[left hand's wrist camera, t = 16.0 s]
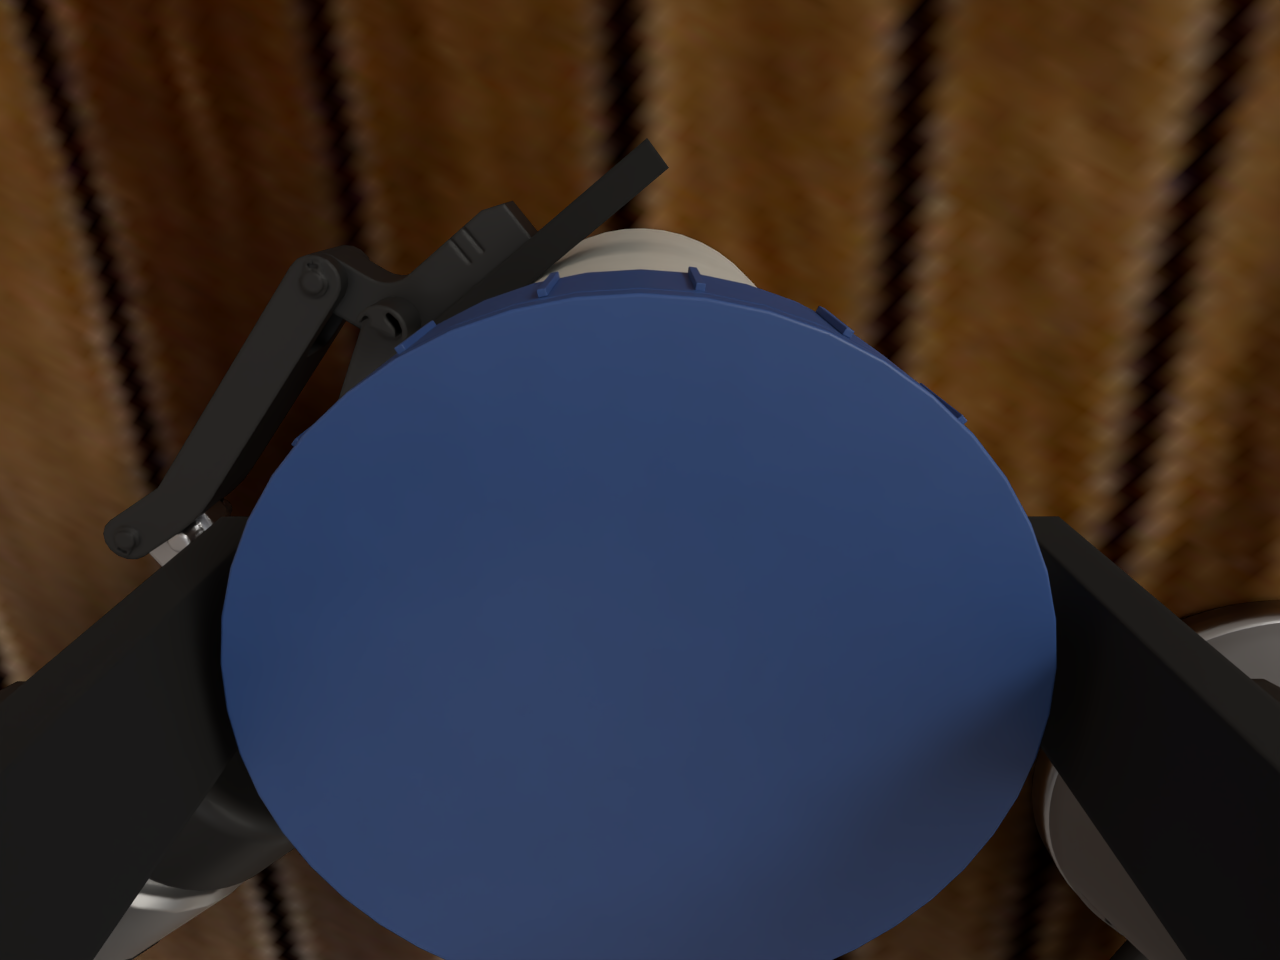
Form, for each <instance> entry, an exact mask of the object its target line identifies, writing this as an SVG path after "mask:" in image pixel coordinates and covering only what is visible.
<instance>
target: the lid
mask: <svg viewBox="0 0 1280 960" xmlns="http://www.w3.org/2000/svg"><path fill="white" fill-rule="evenodd" d="M853 333H854V331H853V330H852V329H850V328H849V327H848V326H847V325H845V324H844V323H843V322H841V321H840V320H839V319H838V318H836V317H835V316H834V315H833V314H831V313H830V312H829V311H827V310H826V309H824V308H823V307H821V306H819V307H818V309H817V310H816V312H815V311H813V310H811V309H809V308H807V307H805V306H803V305H801V304H800V303H798V302H795V301H793V300H790V299H787V298H784V297H782V296H779V295H776V294H773V293H770V292H768V291H765V290H762V289H759V288H756V287H754V286H751V285H748V284H744V283H739V282H734V281H730V280H725V279H720V278H715V277H711V276H706V275H701V274H700V273H699V271H698V269H697V268H696V267H689V268H688V273H686V272H672V271H659V270H645V269H636V270H620V271H604V272H588V273H582V274H577V275H572V276H567V277H562V278H560V276H559V272H558V271H557V272H553V273H550V274H549V275H548V277H547V278H546V279H545V280H544V281H542V282H537V283H533V284H530V285H527V286H524V287H521V288H519V289H516V290H513V291H510V292H507V293H504V294H501V295H498V296H495V297H493V298H490V299H487V300H484V301H482V302H480V303H478V304H476V305H474V306H472V307H470V308H468V309H467V310H465V311H463V312H461V313H459V314H457V315H455V316H453V317H451V318H449V319H447V320H445V321H443V322H441V323H439V324H438V325H436V324H435V322H434V321H433V320H432V321H430V322H429V323H427V324H426V325H424V326H423V327H422V328H420V329H419V330H418V331H416V332H415V333H414V334H412V335H411V336H410V337H408V338H407V339H406V340H404V341H403V342H402V343H400V344H399V345H398V346H396V347H395V348H394V349H395V351H396V352H397V354H395V355H394V356H393V357H391V358H390V359H389V360H388V361H386V362H385V363H384V364H382V365H381V366H380V367H379V368H377V369H376V370H375V371H373V372H372V373H371V374H370V375H368V376H367V377H366V378H364V379H363V380H362V381H361V382H359V383H358V384H357V385H355V386H354V387H353V388H352V389H350V390H349V391H348V392H347V393H346V394H344V395H343V396H342V397H341V398H340V399H339V400H338V401H337V402H336V403H335V404H334V405H333V406H332V407H331V408H330V409H329V410H328V411H327V412H326V413H324V414H323V415H322V416H321V417H320V418H319V419H318V420H317V421H316V422H315V423H314V424H313V425H312V426H310V427H309V428H308V429H307V430H305V431H304V432H303V433H302V434H300V435H299V436H298V437H297V438H295V440H294V441H293V442H292V444H291V445H292V446H294V447H293V448H292V450H291V451H290V452H289V454H288V455H287V456H286V458H285V459H284V460H283V461H282V463H281V464H280V465H279V467H278V468H277V469H276V470H275V472H274V473H273V474H272V476H271V478H270V480H269V482H268V483H267V485H266V487H265V489H264V491H263V493H262V494H261V496H260V498H259V500H258V502H257V504H256V505H255V507H254V509H253V511H252V513H251V514H250V516H249V518H248V520H247V522H246V525H245V528H244V531H243V534H242V537H241V539H240V542H239V545H238V548H237V551H236V553H235V556H234V559H233V562H232V565H231V568H230V573H229V578H228V584H227V589H226V595H225V600H224V606H223V611H222V619H221V671H222V679H223V686H224V693H225V701H226V708H227V712H228V716H229V719H230V723H231V726H232V729H233V733H234V736H235V740H236V743H237V746H238V750H239V753H240V756H241V758H242V760H243V762H244V764H245V766H246V769H247V771H248V773H249V775H250V777H251V780H252V782H253V784H254V786H255V788H256V790H257V793H258V795H259V796H260V798H261V799H262V801H263V803H264V804H265V806H266V807H267V809H268V811H269V812H270V814H271V815H272V817H273V818H274V820H275V822H276V823H277V825H278V826H279V828H280V829H281V831H282V833H283V834H284V835H285V836H286V837H287V839H288V840H289V841H290V842H291V843H292V845H293V846H294V847H295V848H296V849H297V851H298V852H299V853H300V854H301V855H302V857H303V858H304V859H305V860H306V861H307V863H308V864H309V865H310V866H311V867H312V868H313V869H314V870H315V871H316V872H317V873H318V874H319V875H320V876H321V877H322V878H323V879H325V880H326V881H327V882H328V883H329V884H330V885H331V886H332V887H333V888H334V889H335V890H336V891H337V892H338V893H339V894H340V895H341V896H343V897H344V898H345V899H346V900H348V901H349V902H350V903H352V904H353V905H354V906H356V907H357V908H358V909H360V910H361V911H362V912H364V913H365V914H366V915H368V916H369V917H370V918H372V919H373V920H374V921H376V922H377V923H378V924H380V925H381V926H383V927H385V928H387V929H388V930H390V931H392V932H393V933H395V934H397V935H398V936H400V937H402V938H403V939H405V940H407V941H409V942H410V943H412V944H414V945H415V946H417V947H419V948H421V949H423V950H425V951H427V952H430V953H432V954H434V955H436V956H438V957H441V958H443V959H445V960H833V959H835V958H837V957H839V956H842V955H844V954H846V953H848V952H850V951H853V950H855V949H857V948H859V947H860V946H862V945H864V944H865V943H867V942H869V941H871V940H872V939H874V938H876V937H878V936H879V935H881V934H883V933H884V932H886V931H888V930H890V929H891V928H893V927H895V926H896V925H898V924H899V923H900V922H902V921H903V920H904V919H906V918H907V917H908V916H910V915H911V914H913V913H914V912H915V911H917V910H918V909H919V908H921V907H922V906H923V905H925V904H926V903H927V902H929V901H930V900H932V899H933V898H934V897H935V896H936V895H937V894H938V893H939V892H940V891H941V890H942V889H943V888H944V887H946V886H947V885H948V884H949V883H950V882H951V881H952V880H953V879H954V878H955V877H956V876H957V875H958V874H960V873H961V872H962V871H963V870H964V869H965V868H966V866H967V865H968V864H969V863H970V862H971V861H972V859H973V858H974V857H975V856H976V855H977V853H978V852H979V851H980V850H981V849H982V848H983V846H984V845H985V844H986V843H987V842H988V840H989V839H990V838H991V837H992V836H993V834H994V833H995V831H996V830H997V828H998V827H999V825H1000V824H1001V822H1002V821H1003V819H1004V817H1005V816H1006V814H1007V813H1008V811H1009V810H1010V808H1011V807H1012V805H1013V804H1014V802H1015V800H1016V799H1017V797H1018V795H1019V793H1020V791H1021V789H1022V787H1023V785H1024V782H1025V780H1026V778H1027V776H1028V774H1029V772H1030V770H1031V768H1032V765H1033V763H1034V761H1035V759H1036V757H1037V754H1038V750H1039V747H1040V744H1041V741H1042V737H1043V734H1044V731H1045V727H1046V724H1047V721H1048V718H1049V714H1050V709H1051V702H1052V695H1053V688H1054V681H1055V674H1056V617H1055V611H1054V605H1053V600H1052V594H1051V588H1050V582H1049V576H1048V571H1047V568H1046V565H1045V562H1044V559H1043V556H1042V553H1041V551H1040V548H1039V545H1038V542H1037V539H1036V536H1035V533H1034V530H1033V527H1032V524H1031V522H1030V520H1029V519H1028V517H1027V515H1026V513H1025V511H1024V509H1023V507H1022V505H1021V504H1020V502H1019V500H1018V498H1017V496H1016V494H1015V492H1014V490H1013V489H1012V487H1011V485H1010V483H1009V481H1008V479H1007V478H1006V476H1005V475H1004V474H1003V472H1002V471H1001V470H1000V468H999V467H998V466H997V464H996V463H995V462H994V460H993V459H992V458H991V456H990V455H989V454H988V452H987V451H986V450H985V448H984V447H983V446H982V444H981V443H980V442H979V440H978V439H977V438H976V437H975V435H974V434H973V433H972V432H971V431H970V430H969V429H968V428H967V427H966V426H965V425H964V423H966V422H967V420H966V419H965V418H964V416H963V415H962V414H960V413H959V412H958V411H956V410H955V409H954V408H953V407H951V406H950V405H949V404H947V403H946V402H945V401H944V400H942V399H941V398H940V397H938V396H937V395H936V394H935V393H933V392H932V391H931V390H929V389H928V388H927V387H926V386H924V385H923V384H922V383H920V384H919V383H918V382H916V381H915V380H914V379H912V378H911V377H910V376H909V375H907V374H906V373H905V372H904V371H902V370H901V369H900V368H898V367H897V366H896V365H895V364H893V363H892V362H891V361H890V360H888V359H887V358H886V357H884V356H883V355H882V354H881V353H879V352H878V351H876V350H875V349H874V348H872V347H871V346H869V345H868V344H867V343H865V342H864V341H862V340H861V339H860V338H858V337H857V336H856V335H854V334H853Z"/></svg>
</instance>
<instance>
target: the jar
mask: <svg viewBox="0 0 1280 960" xmlns="http://www.w3.org/2000/svg"><path fill="white" fill-rule="evenodd" d="M689 267H696V268H697V269H698V271H699V273H700V274H701V275H706V276H711V277H715V278H720V279H725V280H730V281H734V282H739V283H744V284H748V285H751V286H754V287H756V286H755V285H754V284H753V283H752V282H751V281H750V280H749V279H748V278H747V277H746V276H745V275H744V274H743V273H742V272H741V271H740V270H739V269H738V268H737V267H736V266H735V265H734V264H733V263H732V262H731V261H729V260H728V259H727V258H725V257H724V256H723V255H721V254H720V253H719V252H717V251H716V250H714V249H712V248H710V247H709V246H707V245H705V244H703V243H701V242H699V241H696V240H694V239H691V238H689V237H686V236H684V235H680V234H676V233H672V232H668V231H664V230H654V229H623V230H617V231H611V232H605V233H602V234H599V235H596V236H593V237H590V238H587V239H584V240H582V241H581V242H580V243H579V244H577V245H576V246H575V247H574V248H573V249H571V250H570V251H569V252H568V253H567V254H565V255H564V256H563V257H562V258H561V259H560V260H558V261H557V262H556V263H555V264H554V265H552V266H551V267H550V268H549V269H548V270H546V271H545V272H544V273H543V274H542V275H540V276H539V277H538V278H537V279H536V280H535V281H533V282H532V283H531V284H533V283H537V282H542V281H544V280H545V279H546V278H547V277H548V275H549V274H550V273H553V272H557V271H558V272H559V276H560V278H562V277H567V276H572V275H577V274H582V273H588V272H604V271H620V270H636V269H645V270H659V271H672V272H686V273H688V268H689ZM756 288H757V287H756Z"/></svg>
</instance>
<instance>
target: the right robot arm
mask: <svg viewBox="0 0 1280 960" xmlns="http://www.w3.org/2000/svg"><path fill="white" fill-rule="evenodd" d="M668 168H669V167H668V166H667V165H666V163H665V162H664V161H663V159H662V158H661V156H660V155H659V154H658V152H657V151H656V150H655V148H654V147H653V146H652V144H651V143H650V141H649V140H648V139H646V140H644V141H643V142H642V143H641V144H640V145H639V146H637V147H636V148H635V149H634V150H633V151H632V152H630V153H629V154H628V155H627V156H626V157H625V158H623V159H622V160H621V161H620V162H619V163H618V164H616V165H615V166H614V167H613V168H612V169H611V170H609V171H608V172H607V173H606V174H605V175H604V176H602V177H601V178H600V179H599V180H598V181H597V182H595V183H594V184H593V185H592V186H591V187H590V188H588V189H587V190H586V191H585V192H584V193H583V194H581V195H580V196H579V197H578V198H577V199H576V200H574V201H573V202H572V203H571V204H570V205H569V206H567V207H566V208H565V209H564V210H563V211H562V212H560V213H559V214H558V215H557V216H556V217H555V218H553V219H552V220H551V221H550V222H549V223H548V224H546V225H545V226H544V227H543V228H542V229H541V230H539V231H537V230H536V229H535V228H534V227H533V225H532V224H531V223H530V222H529V220H528V219H527V218H526V217H525V215H524V214H523V213H522V212H521V210H520V209H519V208H518V207H517V205H516V204H515V203H514V202H513V201H511V202H507V203H504V204H501V205H497V206H494V207H491V208H488V209H485V210H482V211H481V212H479V213H478V214H477V215H476V216H475V217H474V218H473V219H472V220H470V221H469V222H468V223H467V224H466V225H465V226H464V227H463V228H461V229H460V230H459V231H458V232H457V233H456V234H455V235H453V236H452V237H451V238H450V239H449V240H448V241H447V242H445V243H444V244H443V245H442V246H441V247H440V248H439V249H438V250H436V251H435V252H434V253H433V254H432V255H431V256H430V257H428V258H427V259H426V260H425V261H424V262H423V263H422V264H421V265H419V266H418V267H417V268H416V269H415V270H414V271H413V272H412V273H410V274H409V275H397V274H393V273H391V272H389V271H387V270H385V269H383V268H381V267H380V266H378V265H376V264H375V263H373V262H371V261H370V260H369V258H368V256H367V255H366V254H365V253H364V252H363V251H362V250H360V249H358V248H356V247H354V246H349V245H342V246H338V247H335V248H330V249H327V250H323V251H319V252H316V253H312V254H309V255H306V256H303V257H300V258H298V259H297V260H296V261H295V262H294V263H293V264H292V265H291V266H290V268H289V270H288V271H287V273H286V275H285V276H284V278H283V280H282V281H281V283H280V285H279V286H278V288H277V290H276V291H275V293H274V295H273V296H272V298H271V300H270V302H269V303H268V305H267V307H266V308H265V310H264V312H263V313H262V315H261V317H260V318H259V320H258V322H257V323H256V325H255V327H254V328H253V330H252V332H251V333H250V335H249V337H248V338H247V340H246V342H245V343H244V345H243V347H242V348H241V350H240V352H239V353H238V355H237V357H236V358H235V360H234V362H233V363H232V365H231V367H230V368H229V370H228V372H227V373H226V375H225V377H224V378H223V380H222V382H221V383H220V385H219V387H218V388H217V390H216V392H215V393H214V395H213V397H212V398H211V400H210V402H209V403H208V405H207V407H206V408H205V410H204V412H203V413H202V415H201V417H200V418H199V420H198V422H197V424H196V425H195V427H194V429H193V430H192V432H191V434H190V435H189V437H188V439H187V440H186V442H185V444H184V445H183V447H182V449H181V450H180V452H179V454H178V455H177V457H176V459H175V460H174V462H173V464H172V465H171V467H170V469H169V470H168V472H167V474H166V475H165V477H164V479H163V480H162V482H161V484H160V485H159V487H158V488H157V489H156V490H154V491H153V492H151V493H150V494H148V495H147V496H145V497H144V498H142V499H141V500H139V501H138V502H137V503H135V504H134V505H132V506H131V507H129V508H128V509H126V510H125V511H123V512H122V513H120V514H119V515H118V516H116V517H115V518H113V519H112V520H110V521H109V522H108V524H107V525H106V526H105V529H104V533H103V534H104V539H105V542H106V544H107V545H108V547H109V548H110V550H112V551H113V552H114V553H116V554H117V555H118V556H121V557H124V558H126V559H138V558H141V557H143V556H145V555H147V554H148V553H150V554H151V556H152V557H153V558H154V559H155V560H156V561H157V562H158V563H159V564H160V565H161V566H163V565H165V564H166V563H167V562H168V561H169V560H171V559H172V558H173V557H174V556H175V555H177V554H178V553H179V552H180V551H181V550H182V549H184V548H185V547H186V546H187V545H188V544H190V543H191V542H192V541H193V540H194V539H196V538H197V537H198V536H199V535H200V534H201V533H203V532H204V531H205V530H206V529H207V528H209V527H210V526H211V525H212V524H213V523H215V522H216V521H217V520H218V519H219V518H220V517H231V515H230V514H231V512H232V506H231V504H230V502H229V501H227V500H226V499H224V497H225V496H226V495H228V494H229V493H230V492H231V491H232V490H234V489H235V488H236V487H237V486H238V485H239V484H240V483H241V482H242V481H243V480H244V478H245V477H246V476H247V474H248V473H249V472H250V470H251V469H252V468H253V466H254V464H255V463H256V461H257V460H258V458H259V457H260V455H261V453H262V452H263V450H264V449H265V447H266V446H267V444H268V443H269V441H270V439H271V438H272V436H273V435H274V433H275V432H276V430H277V428H278V427H279V425H280V424H281V422H282V421H283V419H284V417H285V416H286V414H287V413H288V411H289V410H290V408H291V406H292V405H293V403H294V402H295V400H296V399H297V397H298V395H299V394H300V392H301V391H302V389H303V388H304V386H305V384H306V383H307V381H308V380H309V378H310V377H311V375H312V373H313V372H314V370H315V369H316V367H317V366H318V364H319V362H320V361H321V359H322V358H323V356H324V355H325V353H326V352H327V350H328V348H329V347H330V345H331V344H332V342H333V341H334V339H335V337H336V336H337V334H338V333H339V331H340V330H341V328H342V326H343V325H344V323H345V322H346V321H348V322H350V323H351V324H353V325H355V326H357V327H358V328H360V329H361V330H360V333H359V336H358V340H357V343H356V346H355V349H354V352H353V355H352V358H351V362H350V365H349V368H348V371H347V374H346V377H345V380H344V384H343V387H342V390H341V393H340V396H339V399H340V398H341V397H342V396H343V395H344V394H346V393H347V392H348V391H349V390H350V389H352V388H353V387H354V386H355V385H357V384H358V383H359V382H361V381H362V380H363V379H364V378H366V377H367V376H368V375H370V374H371V373H372V372H373V371H375V370H376V369H377V368H379V367H380V366H381V365H382V364H384V363H385V362H386V361H388V360H389V359H390V358H391V357H393V356H394V355H395V354H397V352H396V351H395V349H394V348H395V347H396V346H398V345H399V344H400V343H402V342H403V341H404V340H406V339H407V338H408V337H410V336H411V335H412V334H414V333H415V332H416V331H418V330H419V329H420V328H422V327H423V326H424V325H426V324H427V323H429V322H430V321H432V320H433V321H434V322H435V324H436V325H438V324H439V323H441V322H443V321H445V320H447V319H449V318H451V317H453V316H455V315H457V314H459V313H461V312H463V311H465V310H467V309H468V308H470V307H472V306H474V305H476V304H478V303H480V302H482V301H484V300H487V299H490V298H493V297H495V296H498V295H501V294H504V293H507V292H510V291H513V290H516V289H519V288H521V287H524V286H527V285H530V284H531V283H532V282H533V281H535V280H536V279H537V278H538V277H539V276H540V275H542V274H543V273H544V272H545V271H546V270H548V269H549V268H550V267H551V266H552V265H554V264H555V263H556V262H557V261H558V260H560V259H561V258H562V257H563V256H564V255H565V254H567V253H568V252H569V251H570V250H571V249H573V248H574V247H575V246H576V245H577V244H579V243H580V242H581V241H582V240H583V239H584V238H586V237H587V236H588V235H589V234H590V233H592V232H593V231H594V230H595V229H596V228H598V227H599V226H600V225H601V224H602V223H604V222H605V221H606V220H607V219H608V218H609V217H611V216H612V215H613V214H614V213H615V212H617V211H618V210H619V209H620V208H621V207H623V206H624V205H625V204H626V203H627V202H628V201H630V200H631V199H632V198H633V197H634V196H636V195H637V194H638V193H639V192H640V191H642V190H643V189H644V188H645V187H646V186H648V185H649V184H650V183H651V182H652V181H653V180H655V179H656V178H657V177H658V176H659V175H661V174H662V173H663V172H664V171H665V170H667V169H668ZM339 399H338V400H339ZM294 848H295V847H294V846H293V845H292V843H291V842H290V841H289V840H288V839H287V837H286V836H285V835H284V834H283V833H282V831H281V829H280V828H279V826H278V825H277V823H276V822H275V820H274V818H273V817H272V815H271V814H270V812H269V811H268V809H267V807H266V806H265V804H264V803H263V801H262V799H261V798H260V796H259V795H258V793H257V790H256V788H255V786H254V784H253V782H252V780H251V777H250V775H249V773H248V771H247V769H246V766H245V764H244V762H243V760H242V758H241V756H240V753H239V750H237V751H236V753H235V754H234V756H233V757H232V759H231V760H230V762H229V763H228V764H227V766H226V767H225V769H224V770H223V772H222V773H221V775H220V776H219V778H218V779H217V780H216V782H215V783H214V785H213V786H212V788H211V789H210V791H209V792H208V794H207V795H206V796H205V798H204V799H203V801H202V802H201V804H200V805H199V807H198V808H197V810H196V811H195V812H194V814H193V815H192V817H191V818H190V820H189V821H188V823H187V824H186V826H185V827H184V828H183V830H182V831H181V833H180V834H179V836H178V837H177V839H176V840H175V842H174V843H173V844H172V846H171V847H170V849H169V850H168V852H167V853H166V855H165V856H164V858H163V859H162V861H161V862H160V863H159V865H158V866H157V868H156V869H155V871H154V872H153V874H152V875H151V877H150V878H149V879H148V881H147V882H146V884H145V885H144V887H143V888H142V890H141V891H140V893H139V894H138V895H137V897H136V898H135V900H134V901H133V903H132V904H131V906H130V907H129V909H128V910H127V911H126V913H125V914H124V916H123V917H122V919H121V920H120V922H119V923H118V925H117V926H116V927H115V929H114V930H113V932H112V933H111V935H110V936H109V938H108V939H107V941H106V942H105V943H104V945H103V946H102V948H101V949H100V951H99V952H98V954H97V955H96V957H95V958H94V959H93V960H133V959H134V958H135V957H137V956H138V955H140V954H141V953H143V952H144V951H146V950H147V949H149V948H150V947H152V946H153V945H155V944H156V943H158V942H159V941H160V940H161V939H162V938H164V937H165V936H167V935H168V934H170V933H171V932H173V931H174V930H176V929H177V928H179V927H180V926H182V925H183V924H185V923H187V922H188V921H190V920H191V919H193V918H194V917H196V916H197V915H199V914H200V913H202V912H203V911H205V910H206V909H208V908H210V907H211V906H213V905H214V904H216V903H217V902H219V901H220V900H222V899H223V898H225V897H226V896H228V895H229V894H231V893H232V892H233V891H234V890H235V889H236V888H238V887H239V886H240V885H241V884H242V883H243V882H244V881H246V880H248V879H250V878H252V877H253V876H255V875H256V874H258V873H259V872H261V871H262V870H264V869H265V868H266V867H268V866H269V865H271V864H272V863H274V862H275V861H277V860H278V859H279V858H281V857H282V856H284V855H285V854H287V853H288V852H290V851H291V850H292V849H294Z"/></svg>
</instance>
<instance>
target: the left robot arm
mask: <svg viewBox="0 0 1280 960" xmlns="http://www.w3.org/2000/svg"><path fill="white" fill-rule="evenodd" d="M248 518H249V517H220V518H219V519H218V520H217V521H216V522H215V523H213V524H212V525H211V526H210V527H209V528H207V529H206V530H205V531H204V532H203V533H201V534H200V535H199V536H198V537H197V538H196V539H194V540H193V541H192V542H191V543H190V544H188V545H187V546H186V547H185V548H184V549H182V550H181V551H180V552H179V553H178V554H177V555H175V556H174V557H173V558H172V559H171V560H169V561H168V562H167V563H166V564H165V565H163V566H162V567H161V568H160V569H159V570H158V571H156V572H155V573H154V574H153V575H152V576H150V577H149V578H148V579H147V580H146V581H144V582H143V583H142V584H141V585H140V586H139V587H137V588H136V589H135V590H134V591H133V592H131V593H130V594H129V595H128V596H127V597H126V598H124V599H123V600H122V601H121V602H120V603H118V604H117V605H116V606H115V607H114V608H112V609H111V610H110V611H109V612H108V613H107V614H105V615H104V616H103V617H102V618H101V619H99V620H98V621H97V622H96V623H95V624H93V625H92V626H91V627H90V628H89V629H88V630H86V631H85V632H84V633H83V634H82V635H80V636H79V637H78V638H77V639H76V640H74V641H73V642H72V643H71V644H70V645H69V646H67V647H66V648H65V649H64V650H63V651H61V652H60V653H59V654H58V655H57V656H55V657H54V658H53V659H52V660H51V661H50V662H48V663H47V664H46V665H45V666H44V667H42V668H41V669H40V670H39V671H38V672H36V673H35V674H34V675H33V676H32V677H31V678H29V679H28V680H27V681H17V682H15V683H13V684H11V685H10V686H8V687H6V688H4V689H2V690H0V960H93V959H94V958H95V957H96V955H97V954H98V952H99V951H100V949H101V948H102V946H103V945H104V943H105V942H106V941H107V939H108V938H109V936H110V935H111V933H112V932H113V930H114V929H115V927H116V926H117V925H118V923H119V922H120V920H121V919H122V917H123V916H124V914H125V913H126V911H127V910H128V909H129V907H130V906H131V904H132V903H133V901H134V900H135V898H136V897H137V895H138V894H139V893H140V891H141V890H142V888H143V887H144V885H145V884H146V882H147V881H148V879H149V878H150V877H151V875H152V874H153V872H154V871H155V869H156V868H157V866H158V865H159V863H160V862H161V861H162V859H163V858H164V856H165V855H166V853H167V852H168V850H169V849H170V847H171V846H172V844H173V843H174V842H175V840H176V839H177V837H178V836H179V834H180V833H181V831H182V830H183V828H184V827H185V826H186V824H187V823H188V821H189V820H190V818H191V817H192V815H193V814H194V812H195V811H196V810H197V808H198V807H199V805H200V804H201V802H202V801H203V799H204V798H205V796H206V795H207V794H208V792H209V791H210V789H211V788H212V786H213V785H214V783H215V782H216V780H217V779H218V778H219V776H220V775H221V773H222V772H223V770H224V769H225V767H226V766H227V764H228V763H229V762H230V760H231V759H232V757H233V756H234V754H235V753H236V751H237V750H238V746H237V743H236V740H235V736H234V733H233V729H232V726H231V723H230V719H229V716H228V712H227V708H226V701H225V693H224V686H223V679H222V671H221V619H222V611H223V606H224V600H225V595H226V589H227V584H228V578H229V573H230V568H231V565H232V562H233V559H234V556H235V553H236V551H237V548H238V545H239V542H240V539H241V537H242V534H243V531H244V528H245V525H246V522H247V520H248ZM1028 519H1029V520H1030V522H1031V524H1032V527H1033V530H1034V533H1035V536H1036V539H1037V542H1038V545H1039V548H1040V551H1041V553H1042V556H1043V559H1044V562H1045V565H1046V568H1047V571H1048V576H1049V582H1050V588H1051V594H1052V600H1053V605H1054V611H1055V617H1056V674H1055V681H1054V688H1053V695H1052V702H1051V709H1050V714H1049V718H1048V721H1047V724H1046V727H1045V731H1044V734H1043V737H1042V741H1041V744H1040V747H1041V749H1040V752H1039V755H1038V758H1037V761H1036V765H1035V770H1034V775H1033V782H1032V808H1033V814H1034V819H1035V823H1036V826H1037V829H1038V832H1039V835H1040V837H1041V839H1042V841H1043V843H1044V845H1045V847H1046V849H1047V851H1048V852H1049V854H1050V856H1051V857H1052V859H1053V861H1054V862H1055V864H1056V866H1057V867H1058V869H1059V871H1060V872H1061V874H1062V876H1063V877H1064V879H1065V880H1066V882H1067V883H1068V884H1069V886H1070V887H1071V888H1072V889H1073V890H1074V891H1075V893H1076V894H1077V895H1078V896H1079V897H1080V899H1081V900H1082V901H1083V902H1084V903H1085V904H1086V906H1087V907H1088V908H1089V909H1090V910H1091V911H1092V912H1093V913H1094V914H1095V915H1097V916H1098V917H1099V918H1100V919H1102V920H1103V921H1104V922H1106V923H1107V924H1108V925H1110V926H1111V927H1112V928H1113V929H1115V930H1116V931H1117V932H1119V933H1120V934H1121V935H1123V936H1124V937H1125V938H1126V939H1127V941H1126V942H1125V943H1124V944H1123V945H1122V946H1121V947H1120V948H1119V950H1118V951H1117V952H1116V953H1115V954H1114V955H1113V956H1112V957H1111V959H1110V960H1280V600H1272V601H1258V602H1247V603H1242V604H1236V605H1230V606H1225V607H1221V608H1217V609H1213V610H1209V611H1205V612H1202V613H1199V614H1196V615H1193V616H1190V617H1187V618H1184V619H1182V620H1181V619H1179V618H1178V617H1177V616H1176V615H1175V614H1173V613H1172V612H1171V611H1170V610H1169V609H1168V608H1166V607H1165V606H1164V605H1163V604H1162V603H1160V602H1159V601H1158V600H1157V599H1156V598H1154V597H1153V596H1152V595H1151V594H1150V593H1149V592H1147V591H1146V590H1145V589H1144V588H1143V587H1141V586H1140V585H1139V584H1138V583H1137V582H1135V581H1134V580H1133V579H1132V578H1131V577H1130V576H1128V575H1127V574H1126V573H1125V572H1124V571H1122V570H1121V569H1120V568H1119V567H1118V566H1117V565H1115V564H1114V563H1113V562H1112V561H1111V560H1109V559H1108V558H1107V557H1106V556H1105V555H1103V554H1102V553H1101V552H1100V551H1099V550H1098V549H1096V548H1095V547H1094V546H1093V545H1092V544H1090V543H1089V542H1088V541H1087V540H1086V539H1084V538H1083V537H1082V536H1081V535H1080V534H1079V533H1077V532H1076V531H1075V530H1074V529H1073V528H1071V527H1070V526H1069V525H1068V524H1067V523H1065V522H1064V521H1063V520H1062V519H1061V518H1060V517H1028Z"/></svg>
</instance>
